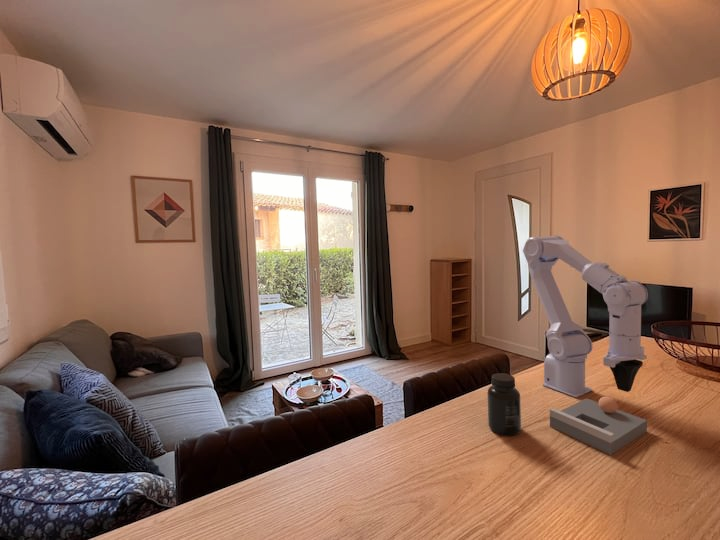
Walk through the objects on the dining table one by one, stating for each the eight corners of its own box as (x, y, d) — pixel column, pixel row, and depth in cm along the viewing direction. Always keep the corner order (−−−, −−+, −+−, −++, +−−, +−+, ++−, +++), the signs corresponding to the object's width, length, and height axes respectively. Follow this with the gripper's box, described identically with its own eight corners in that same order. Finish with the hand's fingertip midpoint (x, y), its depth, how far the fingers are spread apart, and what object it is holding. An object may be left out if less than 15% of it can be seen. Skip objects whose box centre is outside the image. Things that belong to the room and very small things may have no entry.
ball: (595, 411, 75) (595, 396, 75) (603, 406, 77) (603, 392, 76) (612, 417, 72) (613, 402, 72) (620, 413, 74) (621, 398, 73)
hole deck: (549, 426, 74) (549, 409, 74) (586, 408, 81) (586, 392, 81) (610, 455, 64) (610, 435, 63) (646, 431, 71) (647, 413, 70)
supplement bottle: (520, 423, 76) (520, 373, 75) (521, 439, 70) (520, 385, 69) (488, 418, 79) (488, 369, 78) (487, 433, 73) (486, 381, 72)
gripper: (629, 343, 69) (629, 405, 70) (660, 331, 76) (659, 388, 77) (593, 335, 75) (593, 392, 76) (624, 325, 82) (624, 378, 83)
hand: (624, 389), depth 77 cm, fingers closed
